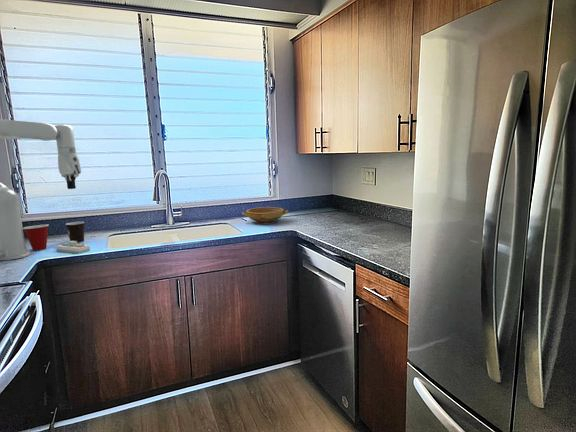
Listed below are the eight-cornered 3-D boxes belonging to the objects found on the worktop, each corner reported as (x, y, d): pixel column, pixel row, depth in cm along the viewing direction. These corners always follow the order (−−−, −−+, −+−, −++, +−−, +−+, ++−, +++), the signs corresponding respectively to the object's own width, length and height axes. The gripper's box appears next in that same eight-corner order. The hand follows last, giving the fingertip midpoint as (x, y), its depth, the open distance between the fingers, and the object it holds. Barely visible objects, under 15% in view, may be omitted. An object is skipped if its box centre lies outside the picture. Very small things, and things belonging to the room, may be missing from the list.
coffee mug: (69, 240, 199) (67, 222, 197) (87, 238, 202) (85, 221, 200) (65, 245, 188) (62, 226, 187) (84, 243, 191) (81, 224, 190)
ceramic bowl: (241, 227, 222) (241, 214, 221) (242, 219, 246) (242, 207, 244) (290, 224, 225) (290, 212, 224) (286, 217, 249) (286, 206, 247)
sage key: (73, 246, 176) (72, 242, 176) (68, 245, 177) (68, 241, 177) (77, 245, 178) (76, 241, 178) (72, 244, 179) (72, 240, 179)
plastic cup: (47, 245, 190) (44, 222, 188) (55, 248, 184) (52, 224, 181) (23, 249, 182) (19, 226, 180) (30, 253, 175) (26, 228, 173)
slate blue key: (66, 248, 178) (66, 244, 178) (62, 247, 179) (61, 243, 179) (70, 246, 180) (70, 243, 180) (66, 246, 181) (65, 242, 181)
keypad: (79, 253, 173) (78, 248, 172) (57, 250, 178) (56, 245, 178) (90, 250, 178) (89, 245, 177) (68, 247, 184) (67, 243, 183)
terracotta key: (80, 249, 174) (80, 245, 174) (75, 249, 176) (75, 245, 175) (84, 248, 176) (84, 244, 176) (79, 247, 178) (79, 243, 177)
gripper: (84, 150, 180) (89, 188, 183) (63, 151, 185) (68, 187, 189) (70, 151, 173) (75, 189, 176) (48, 151, 179) (54, 189, 182)
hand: (71, 188), depth 182 cm, fingers closed
